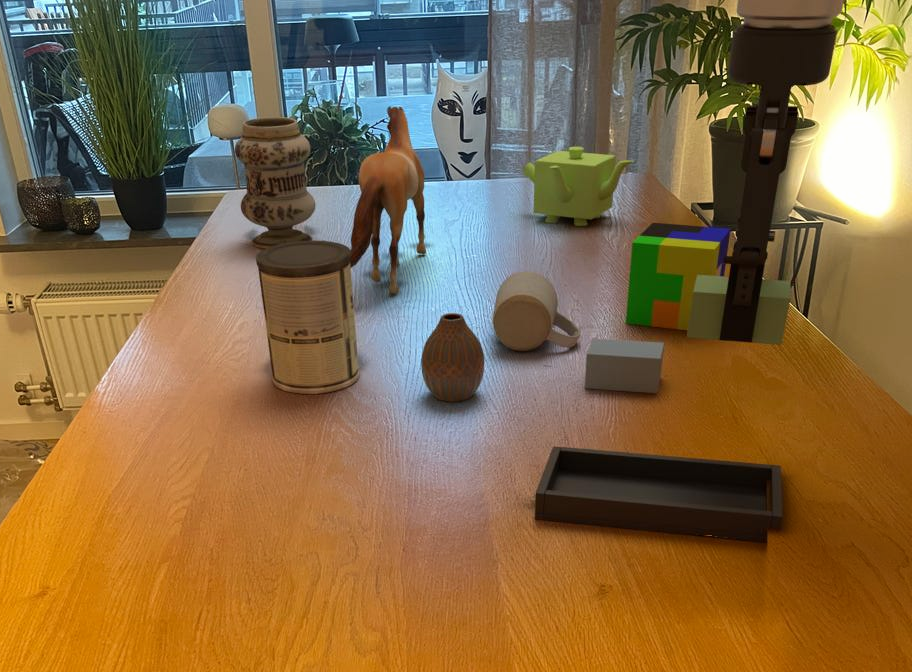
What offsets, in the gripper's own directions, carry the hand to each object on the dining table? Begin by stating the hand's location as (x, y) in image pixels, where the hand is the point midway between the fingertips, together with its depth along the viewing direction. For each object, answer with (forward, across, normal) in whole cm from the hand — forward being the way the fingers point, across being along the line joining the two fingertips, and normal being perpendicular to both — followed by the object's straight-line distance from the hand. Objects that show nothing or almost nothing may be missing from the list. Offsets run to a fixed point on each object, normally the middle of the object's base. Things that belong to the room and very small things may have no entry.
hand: (737, 328), depth 89 cm
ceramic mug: (+13, -29, -24) cm, 39 cm away
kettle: (+13, -89, -29) cm, 94 cm away
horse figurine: (+14, -52, -52) cm, 75 cm away
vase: (+13, -11, -29) cm, 34 cm away
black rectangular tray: (+13, +10, -5) cm, 17 cm away
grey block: (+13, -18, -11) cm, 25 cm away
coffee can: (+14, -12, -46) cm, 50 cm away
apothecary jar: (+14, -66, -73) cm, 100 cm away
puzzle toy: (+13, -42, -8) cm, 45 cm away
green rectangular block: (0, 0, 0) cm, 0 cm away
